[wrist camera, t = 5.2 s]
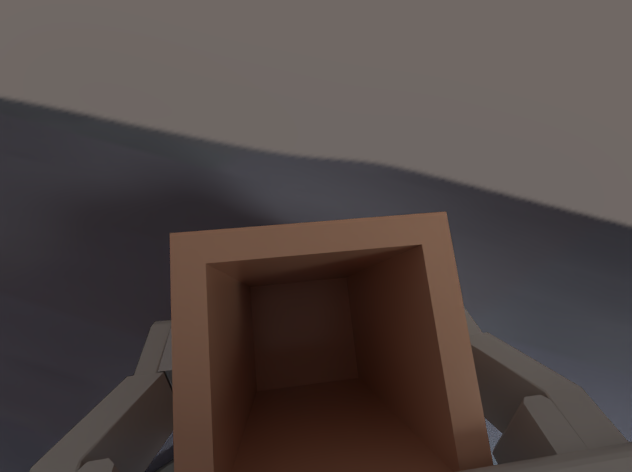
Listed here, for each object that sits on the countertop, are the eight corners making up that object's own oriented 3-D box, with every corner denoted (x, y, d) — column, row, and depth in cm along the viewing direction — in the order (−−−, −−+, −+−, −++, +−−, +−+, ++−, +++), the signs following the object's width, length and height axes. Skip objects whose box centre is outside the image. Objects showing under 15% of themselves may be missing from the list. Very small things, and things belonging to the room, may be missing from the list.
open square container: (355, 263, 15) (446, 211, 6) (371, 388, 14) (502, 513, 5) (236, 275, 14) (169, 233, 6) (244, 405, 13) (175, 575, 5)
